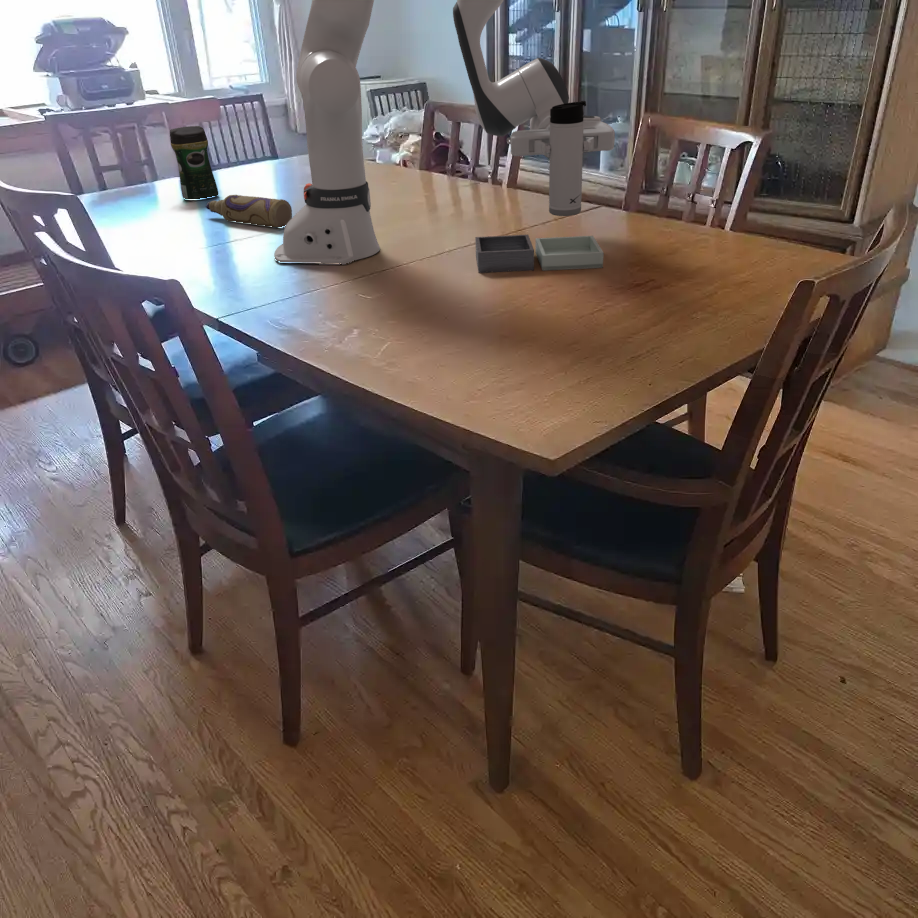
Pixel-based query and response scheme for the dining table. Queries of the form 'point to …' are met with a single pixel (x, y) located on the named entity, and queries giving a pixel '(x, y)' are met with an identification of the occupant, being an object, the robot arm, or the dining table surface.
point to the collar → (504, 253)
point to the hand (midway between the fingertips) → (567, 148)
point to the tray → (569, 253)
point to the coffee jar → (193, 162)
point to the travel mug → (566, 158)
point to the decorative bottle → (253, 210)
